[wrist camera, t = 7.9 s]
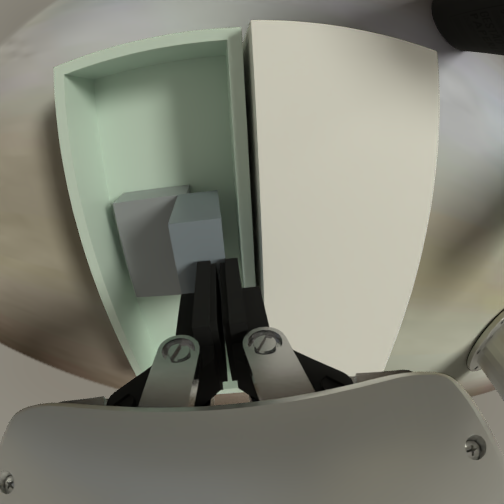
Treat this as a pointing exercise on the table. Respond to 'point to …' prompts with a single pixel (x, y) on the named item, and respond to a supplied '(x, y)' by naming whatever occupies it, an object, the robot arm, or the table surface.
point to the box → (154, 159)
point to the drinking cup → (471, 24)
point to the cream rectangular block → (339, 183)
